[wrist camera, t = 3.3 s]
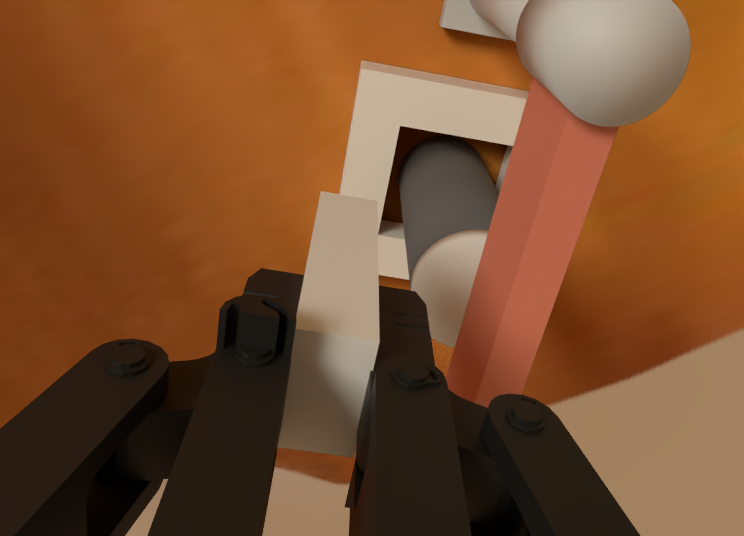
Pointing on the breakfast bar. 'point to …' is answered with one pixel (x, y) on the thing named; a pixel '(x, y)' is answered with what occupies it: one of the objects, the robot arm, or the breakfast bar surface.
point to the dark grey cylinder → (445, 227)
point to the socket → (427, 116)
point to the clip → (559, 169)
